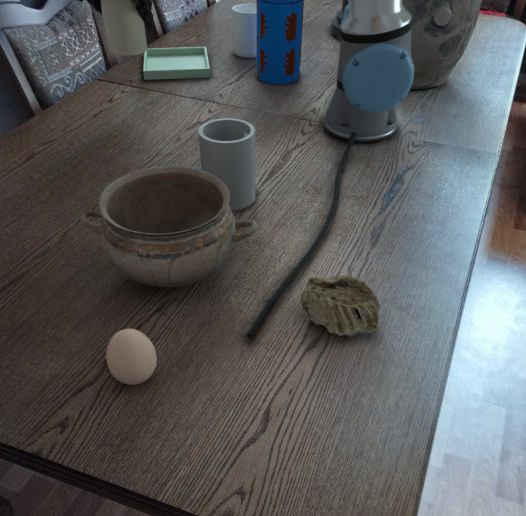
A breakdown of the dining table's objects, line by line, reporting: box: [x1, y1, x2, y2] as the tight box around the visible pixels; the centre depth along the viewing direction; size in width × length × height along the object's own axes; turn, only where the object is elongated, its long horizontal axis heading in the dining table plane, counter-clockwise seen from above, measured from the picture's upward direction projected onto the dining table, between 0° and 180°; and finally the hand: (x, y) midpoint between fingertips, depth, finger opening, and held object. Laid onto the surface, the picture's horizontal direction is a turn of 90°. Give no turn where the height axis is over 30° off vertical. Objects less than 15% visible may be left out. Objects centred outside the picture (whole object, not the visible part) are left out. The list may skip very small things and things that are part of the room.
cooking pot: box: [79, 165, 258, 288], centre depth 78 cm, size 25×19×12 cm
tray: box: [142, 46, 211, 81], centre depth 140 cm, size 16×16×2 cm
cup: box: [197, 117, 256, 212], centre depth 93 cm, size 9×9×12 cm
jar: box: [100, 0, 149, 57], centre depth 109 cm, size 8×8×16 cm
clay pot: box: [402, 0, 483, 90], centre depth 126 cm, size 22×23×30 cm
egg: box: [105, 328, 158, 386], centre depth 65 cm, size 6×6×8 cm
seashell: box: [300, 275, 381, 337], centre depth 73 cm, size 11×7×10 cm
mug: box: [231, 3, 257, 59], centre depth 146 cm, size 9×12×11 cm
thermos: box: [256, 0, 305, 85], centre depth 128 cm, size 11×11×25 cm
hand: (130, 19), depth 114 cm, fingers closed on jar, 8 cm apart
